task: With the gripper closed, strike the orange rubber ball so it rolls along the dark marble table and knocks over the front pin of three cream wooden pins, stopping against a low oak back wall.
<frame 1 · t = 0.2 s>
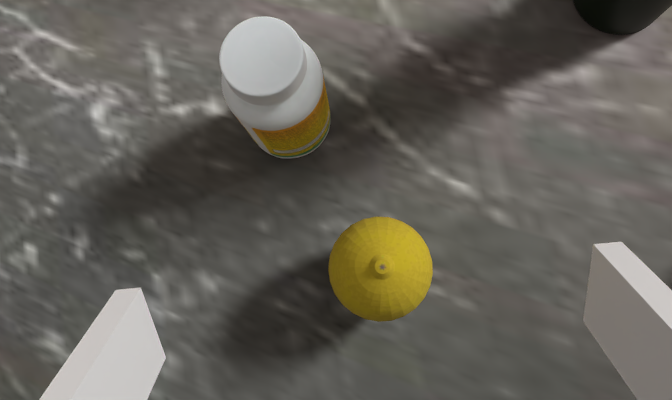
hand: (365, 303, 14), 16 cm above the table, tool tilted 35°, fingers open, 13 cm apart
supplement bottle: (291, 122, 32), on the table
lemon: (378, 269, 30), on the table
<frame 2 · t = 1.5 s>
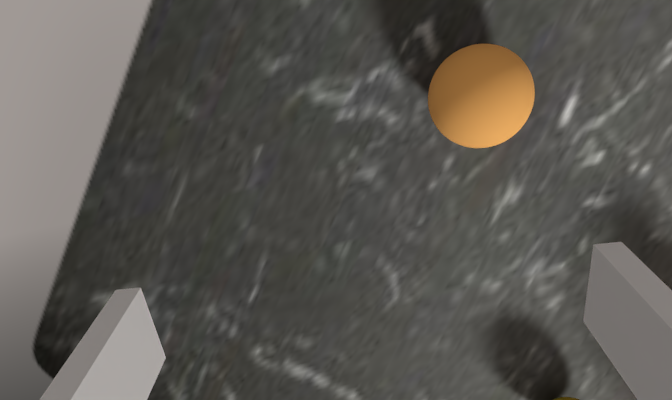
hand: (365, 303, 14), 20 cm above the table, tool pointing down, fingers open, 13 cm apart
ball: (479, 97, 28), on the table
lemon: (553, 398, 43), on the table
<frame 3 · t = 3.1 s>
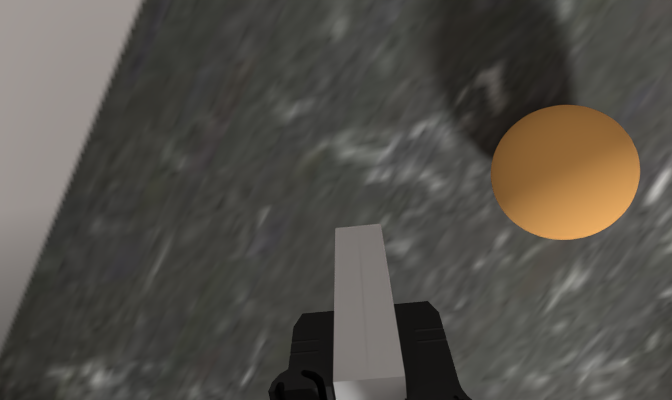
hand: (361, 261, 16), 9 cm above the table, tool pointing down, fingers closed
ball: (560, 172, 22), on the table
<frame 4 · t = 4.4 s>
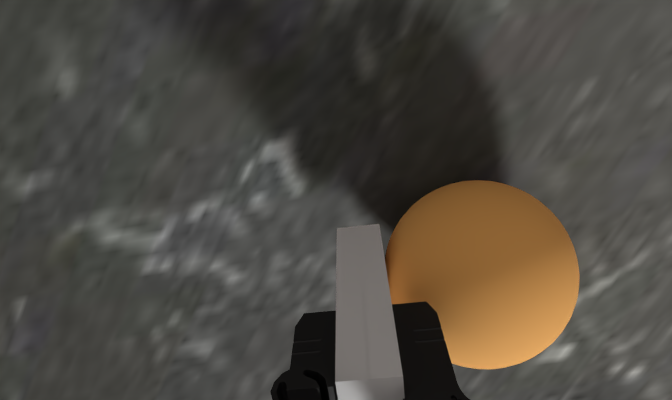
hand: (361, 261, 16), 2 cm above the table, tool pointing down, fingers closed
ball: (476, 271, 16), on the table, touching gripper
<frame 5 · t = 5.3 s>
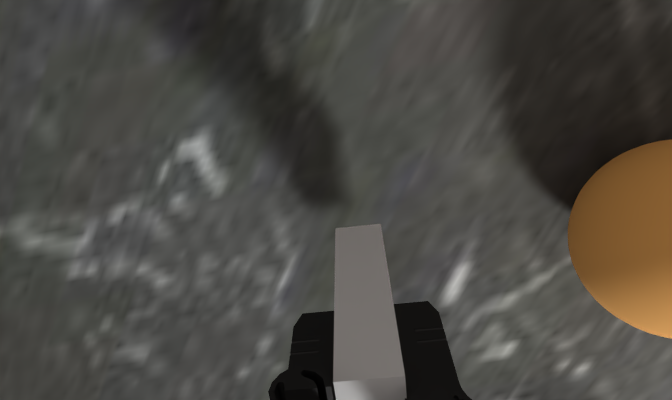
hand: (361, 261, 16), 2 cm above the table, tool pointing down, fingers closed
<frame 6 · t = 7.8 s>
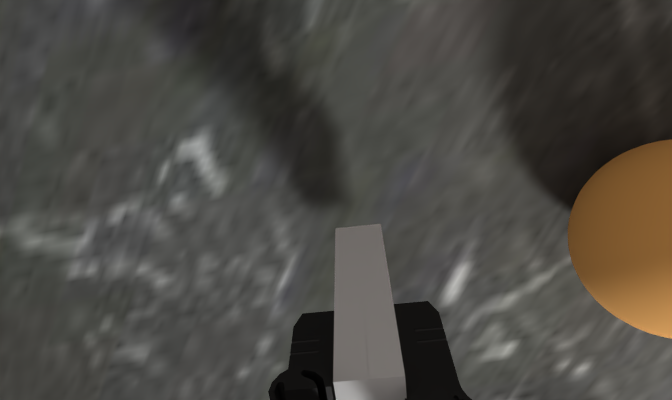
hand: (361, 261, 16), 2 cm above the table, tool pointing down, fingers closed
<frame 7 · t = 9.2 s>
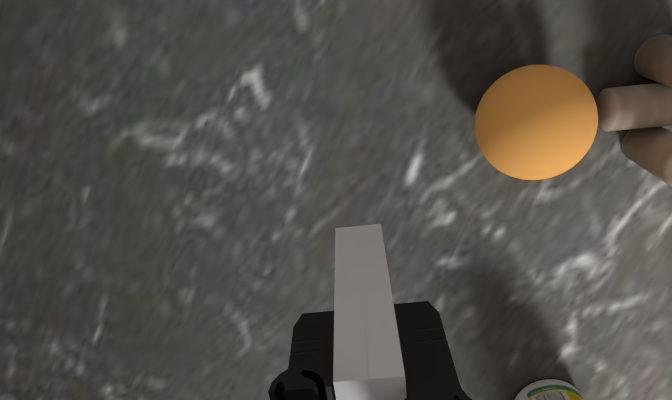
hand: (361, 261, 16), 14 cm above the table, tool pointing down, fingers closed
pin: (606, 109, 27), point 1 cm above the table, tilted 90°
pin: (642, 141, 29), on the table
supplement bottle: (543, 399, 39), on the table
ball: (533, 123, 25), on the table
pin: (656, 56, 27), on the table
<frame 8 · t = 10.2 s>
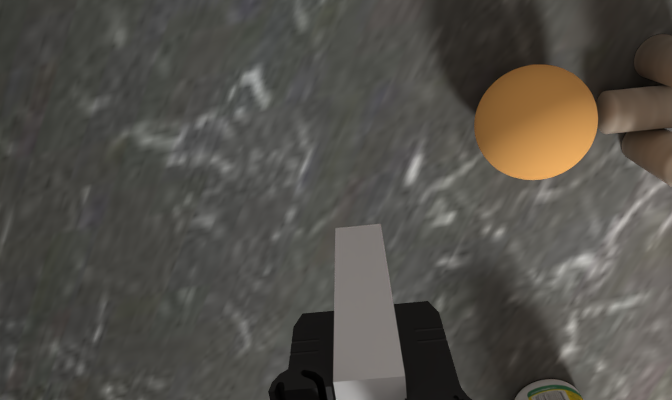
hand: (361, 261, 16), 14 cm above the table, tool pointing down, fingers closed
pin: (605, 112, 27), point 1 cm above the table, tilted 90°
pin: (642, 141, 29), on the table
supplement bottle: (543, 399, 39), on the table
ball: (533, 123, 25), on the table
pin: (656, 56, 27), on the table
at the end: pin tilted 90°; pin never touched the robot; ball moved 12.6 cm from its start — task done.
